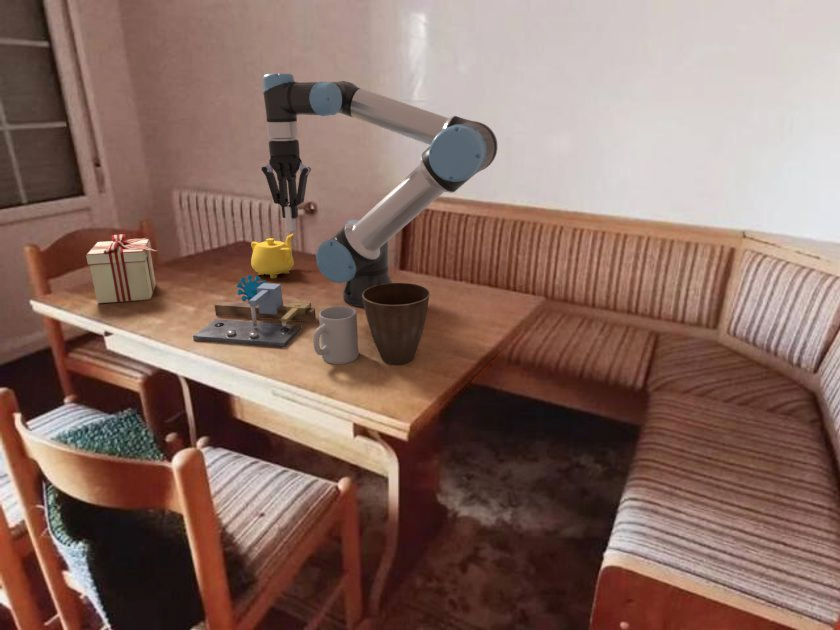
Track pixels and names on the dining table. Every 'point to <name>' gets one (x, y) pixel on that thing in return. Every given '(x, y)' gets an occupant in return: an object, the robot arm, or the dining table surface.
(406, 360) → the plant pot
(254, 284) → the gear
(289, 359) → the dining table surface
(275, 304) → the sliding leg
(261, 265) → the teapot
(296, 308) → the fixed leg
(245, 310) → the beam
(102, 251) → the gift box
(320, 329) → the mug
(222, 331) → the hole plate
